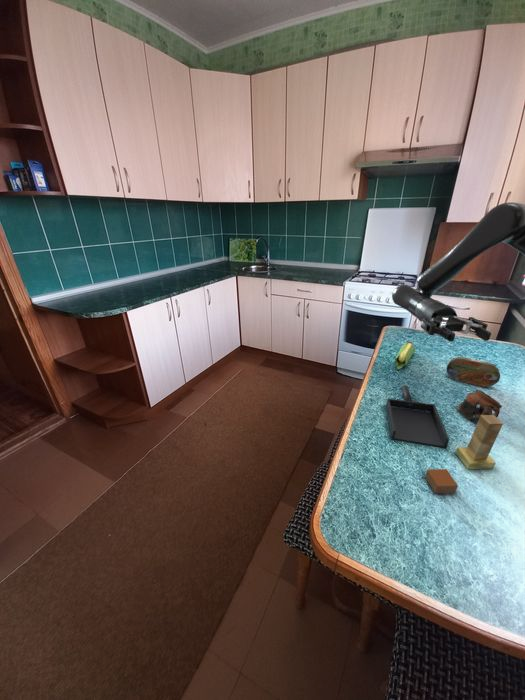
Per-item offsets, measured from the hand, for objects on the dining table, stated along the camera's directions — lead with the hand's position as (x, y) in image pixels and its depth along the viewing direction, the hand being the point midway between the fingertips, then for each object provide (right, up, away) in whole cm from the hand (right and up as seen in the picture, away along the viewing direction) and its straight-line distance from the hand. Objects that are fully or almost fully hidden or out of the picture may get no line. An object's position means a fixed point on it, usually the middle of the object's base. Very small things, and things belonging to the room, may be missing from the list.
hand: (470, 337), depth 69 cm
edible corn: (+7, -7, +47) cm, 48 cm away
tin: (+22, -14, +32) cm, 42 cm away
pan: (-6, -22, +17) cm, 29 cm away
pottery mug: (+13, -23, +16) cm, 31 cm away
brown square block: (-10, -33, -4) cm, 35 cm away
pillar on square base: (+2, -30, +1) cm, 30 cm away
